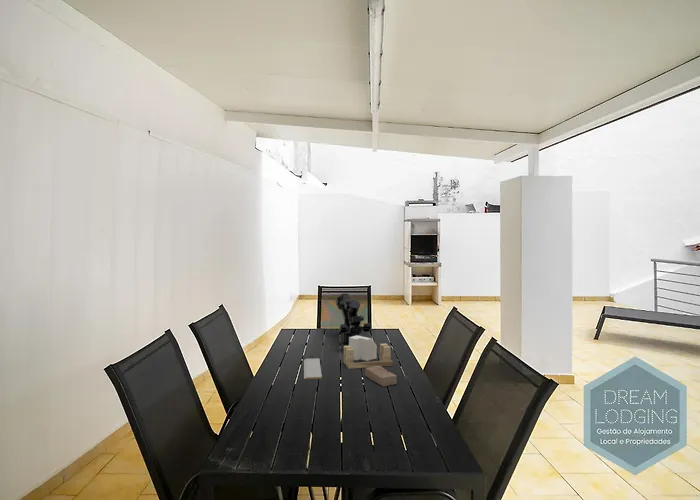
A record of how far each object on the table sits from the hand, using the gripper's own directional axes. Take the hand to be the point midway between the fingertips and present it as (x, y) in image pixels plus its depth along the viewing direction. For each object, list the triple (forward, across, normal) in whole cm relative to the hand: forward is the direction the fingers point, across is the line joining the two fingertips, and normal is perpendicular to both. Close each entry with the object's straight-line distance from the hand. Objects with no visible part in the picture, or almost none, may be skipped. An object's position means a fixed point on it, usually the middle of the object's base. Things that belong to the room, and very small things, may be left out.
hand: (357, 340), depth 251 cm
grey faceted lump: (+14, 0, -3) cm, 14 cm away
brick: (+39, 0, -28) cm, 48 cm away
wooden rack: (+21, 0, -11) cm, 24 cm away
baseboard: (+23, -31, -12) cm, 40 cm away
